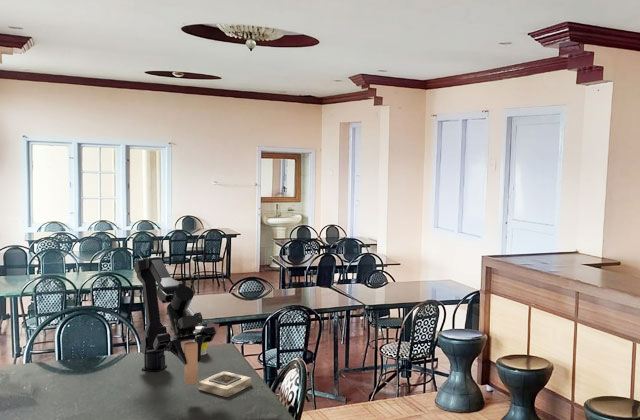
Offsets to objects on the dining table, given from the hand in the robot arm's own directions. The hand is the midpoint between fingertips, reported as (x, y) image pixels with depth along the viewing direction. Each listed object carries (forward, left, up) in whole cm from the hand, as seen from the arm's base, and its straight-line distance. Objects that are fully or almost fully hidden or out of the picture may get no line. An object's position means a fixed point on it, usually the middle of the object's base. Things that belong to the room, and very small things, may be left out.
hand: (192, 362), depth 174 cm
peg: (-1, +1, -7) cm, 7 cm away
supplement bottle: (-24, +41, -13) cm, 49 cm away
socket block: (+3, +14, -12) cm, 19 cm away
